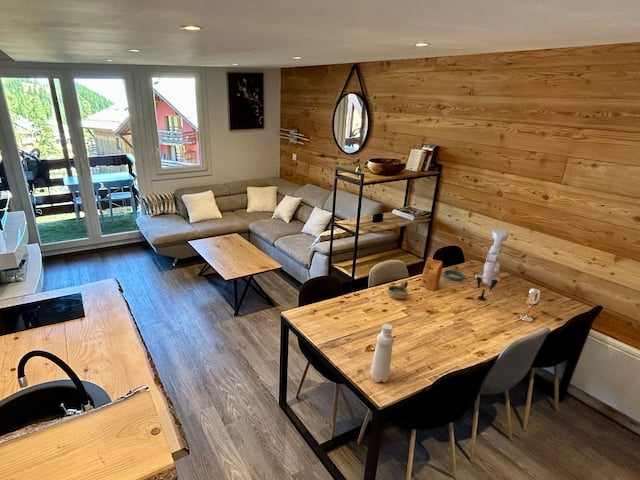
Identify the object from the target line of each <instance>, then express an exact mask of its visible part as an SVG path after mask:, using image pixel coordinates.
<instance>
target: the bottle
mask: <svg viewBox="0 0 640 480" xmlns="http://www.w3.org/2000/svg"><path fill="white" fill-rule="evenodd" d="M392 330H393V325H392V324H389V323H383V324H382V326H381V332H380V333H379V334H378V335H377V336H376V342H377V343H376V345H375V348H374V354H373V359H372V363H371V365H370V371H369V374H370V376H371V379H372V381H374V382H375V383H381V382H382V383H386V382H387V381H389V380H390V375H391V362H392V354H393V345H394V343H395V339H394V336H393V335H392Z"/></svg>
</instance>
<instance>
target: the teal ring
mask: <svg viewBox="0 0 640 480" xmlns="http://www.w3.org/2000/svg"><path fill="white" fill-rule="evenodd" d="M448 274H450V275H448ZM451 275H455V276H457V277H454V276H451ZM443 278H445V279H446V280H449V281H451V282H463V281H464V279H465V274H463V273H462V272H461V271H458V270H455V269H446V270H444V271H443Z"/></svg>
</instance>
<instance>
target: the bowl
mask: <svg viewBox="0 0 640 480" xmlns="http://www.w3.org/2000/svg"><path fill="white" fill-rule="evenodd" d="M408 285H409V283H408V280H402V281H401V283H400V284H399V285H390V286H388V287H387V294H388V295H389V296H390V297H391V298H394V299H397V300H403V299H406V298H407V297H408V295H409V289H408Z"/></svg>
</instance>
